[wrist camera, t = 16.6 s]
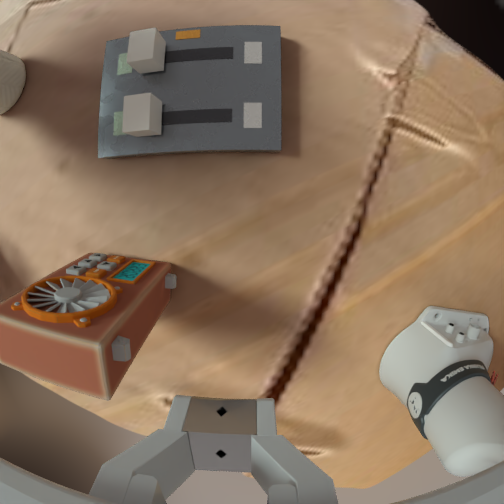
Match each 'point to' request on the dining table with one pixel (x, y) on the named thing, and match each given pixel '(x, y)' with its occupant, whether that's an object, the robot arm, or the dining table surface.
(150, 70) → the block
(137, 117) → the block
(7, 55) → the lamp
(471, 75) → the dining table surface
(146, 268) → the control panel
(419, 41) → the dining table surface
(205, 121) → the breaker box
